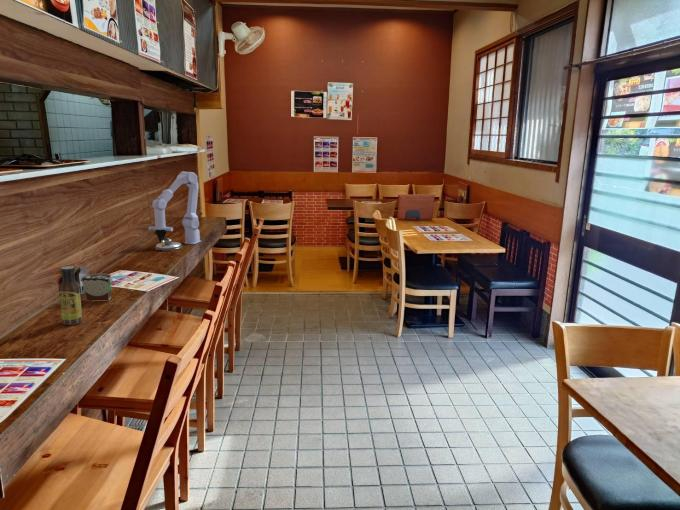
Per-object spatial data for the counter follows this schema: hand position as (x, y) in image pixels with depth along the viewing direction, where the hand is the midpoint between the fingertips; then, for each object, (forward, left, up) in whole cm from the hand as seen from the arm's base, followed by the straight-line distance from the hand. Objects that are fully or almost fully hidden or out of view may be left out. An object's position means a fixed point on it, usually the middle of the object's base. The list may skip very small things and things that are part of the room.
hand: (161, 242), depth 283 cm
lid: (0, +4, -1) cm, 4 cm away
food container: (+92, +28, -4) cm, 96 cm away
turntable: (0, +4, -2) cm, 5 cm away
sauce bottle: (+117, +35, -4) cm, 122 cm away
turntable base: (0, +4, -3) cm, 6 cm away
